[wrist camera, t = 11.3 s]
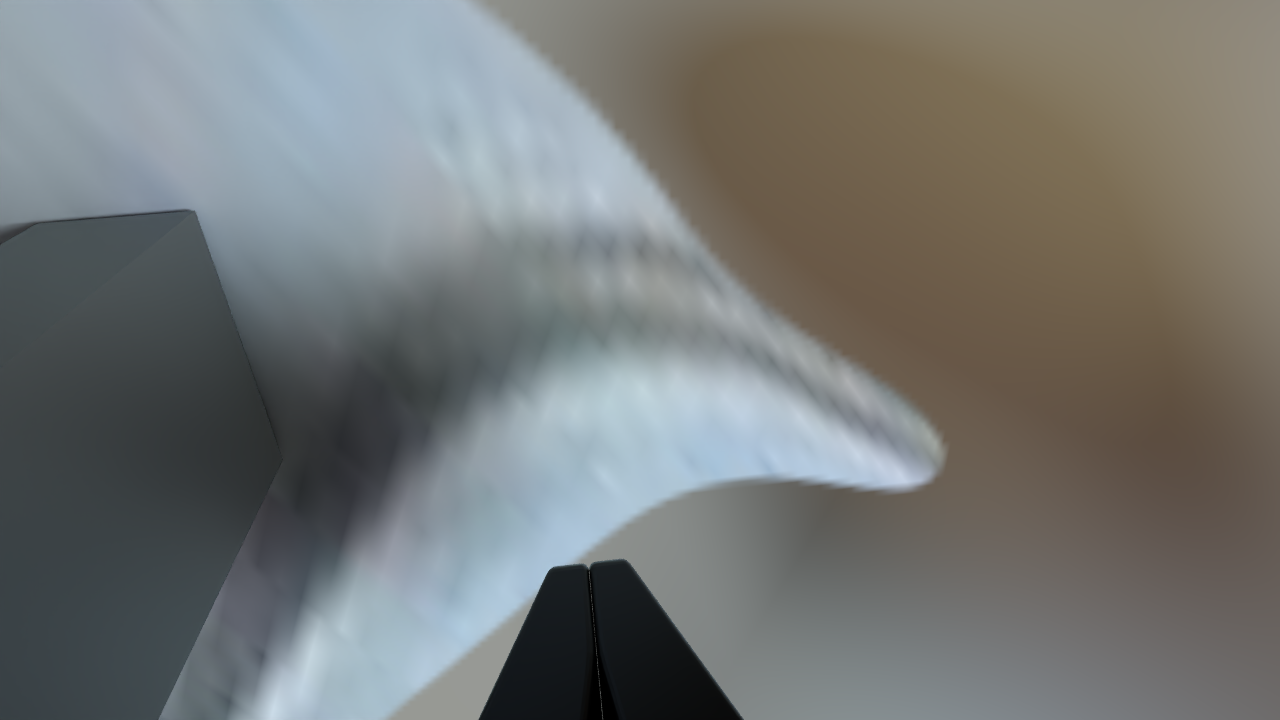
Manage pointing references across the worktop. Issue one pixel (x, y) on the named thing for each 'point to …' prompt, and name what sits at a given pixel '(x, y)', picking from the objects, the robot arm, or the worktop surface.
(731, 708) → the robot arm
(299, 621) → the worktop surface
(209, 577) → the domino
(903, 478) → the worktop surface
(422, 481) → the worktop surface
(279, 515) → the worktop surface
